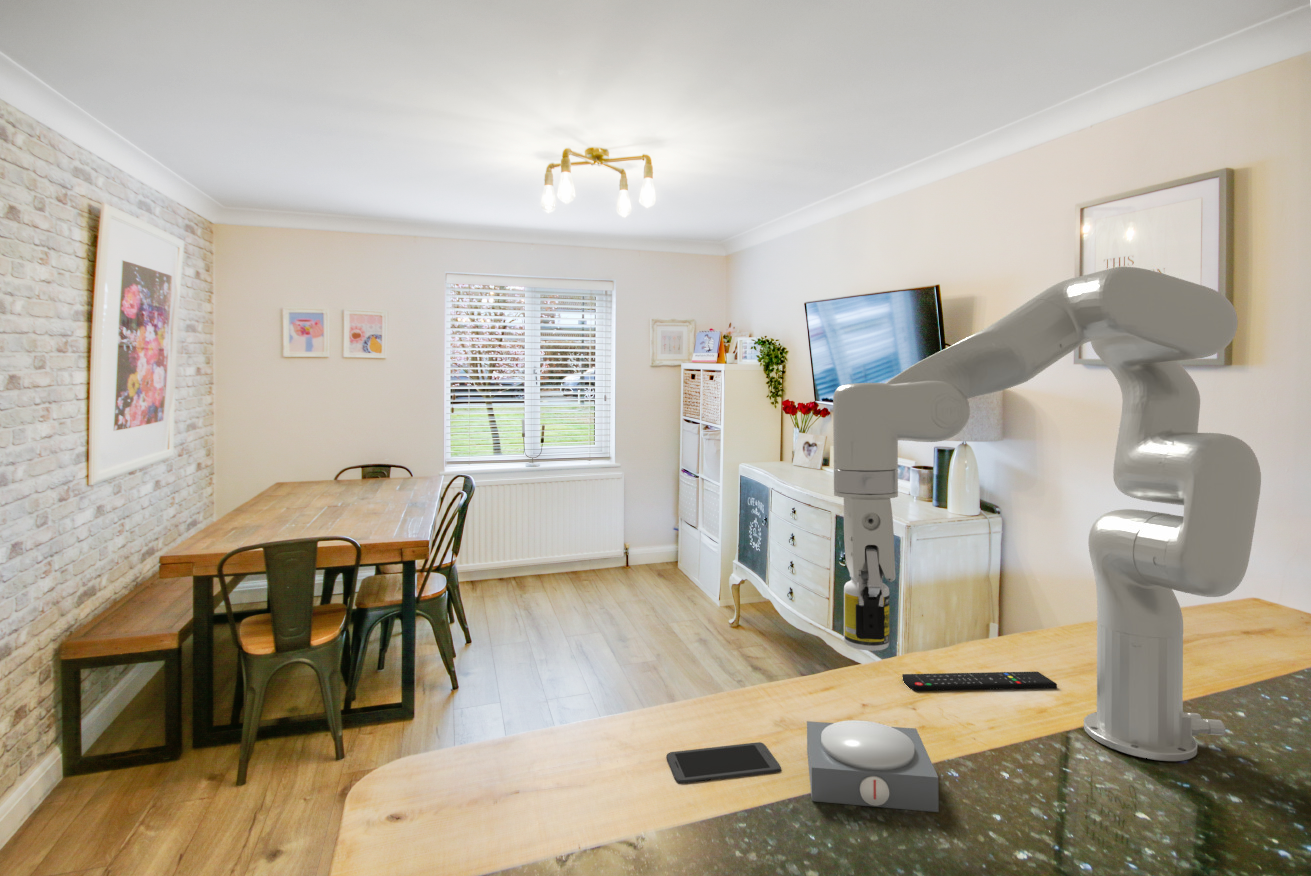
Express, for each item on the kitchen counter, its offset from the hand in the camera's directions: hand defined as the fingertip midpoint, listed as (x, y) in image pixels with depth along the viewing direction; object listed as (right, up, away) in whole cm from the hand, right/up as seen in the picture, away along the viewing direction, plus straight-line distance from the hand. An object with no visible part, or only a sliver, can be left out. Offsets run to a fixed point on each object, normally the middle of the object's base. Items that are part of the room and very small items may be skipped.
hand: (866, 628), depth 81 cm
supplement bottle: (0, -2, 0) cm, 2 cm away
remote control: (+28, -18, +29) cm, 44 cm away
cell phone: (-17, -20, +5) cm, 27 cm away
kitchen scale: (0, -19, 0) cm, 19 cm away
